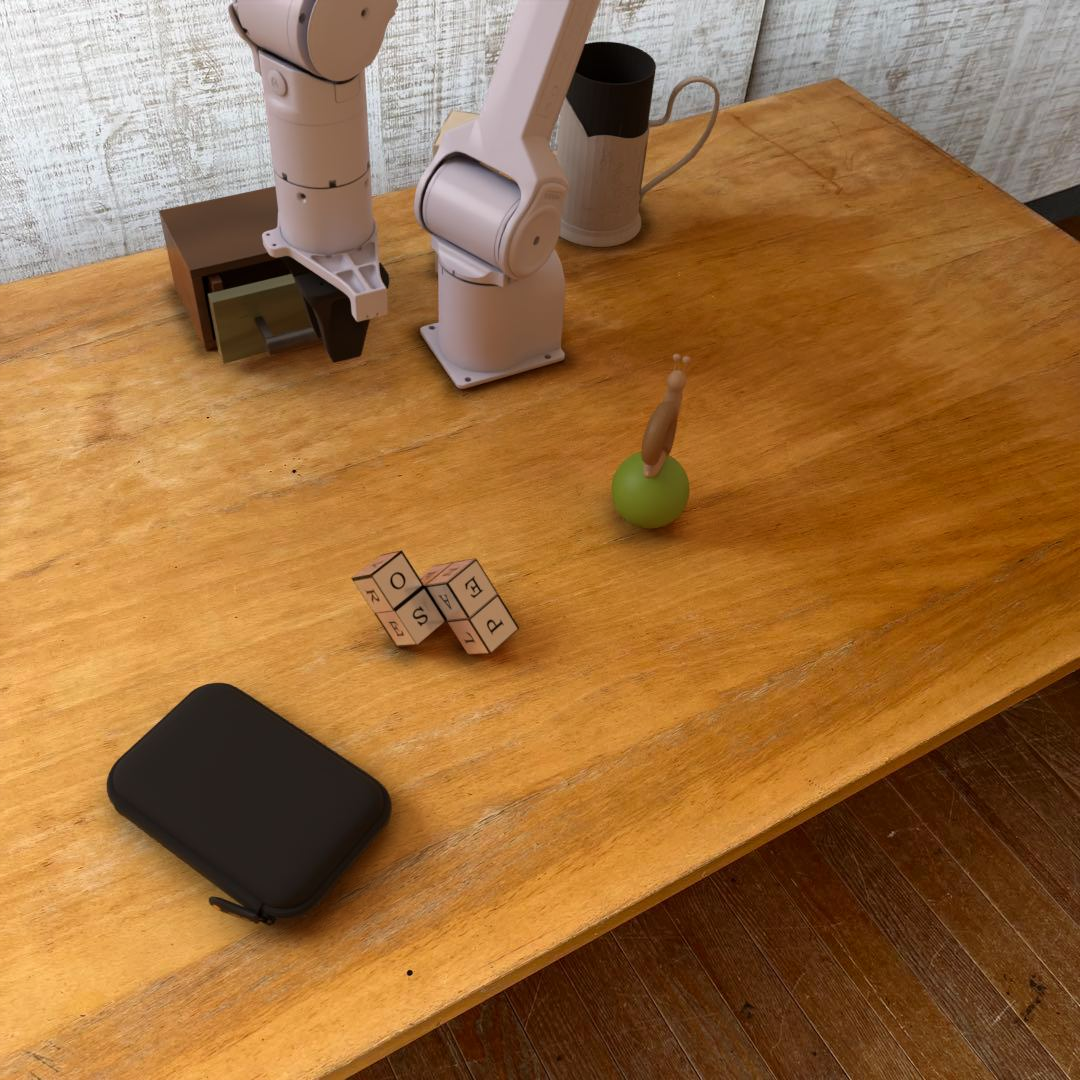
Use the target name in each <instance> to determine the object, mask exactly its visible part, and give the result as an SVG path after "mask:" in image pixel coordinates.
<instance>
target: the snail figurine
mask: <svg viewBox="0 0 1080 1080" xmlns="http://www.w3.org/2000/svg"><path fill="white" fill-rule="evenodd" d="M672 360H673V362H675V363H674V367H673V371H671V372H670V373H669V374H668V376H667V379H666V390H665V392H664V396H663V400H662V401H661V402H660V403H659V404H657V405H656V407H655V409H654V410H653V412H652V413H651V415H650V416H649V419H648V422H647V425H646V427H645V430H644V434H643V437H642V442H641V451H638V452H635V453H633V454H631V455H630V456H628V457H627V458H625V459H624V460H623V461H622V462H621V463H620V464H619V465H618V467H617V468H616V470H615V472H614V473H613V477H612V480H611V487H610V493H611V499H612V502H613V505H614V508H615V510H616V511H617V512H618V513H619V515H620V516H621V517H622V518H623V519H624V520H625V521H626V522H628V523H629V524H631V525H633V526H636V527H638V528H642V529H658V528H662V527H666V526H667V525H669V524H671V523H673V522H674V521H675V520H677V519H678V518H679V517H680V516H681V515H682V513H683V512H684V510H685V509H686V507H687V504H688V502H689V498H690V490H691V488H690V487H691V486H690V480H689V476H688V474H687V471H686V470H685V467H683V465H682V464H681V463H680V462H679V461H678V460H677V459H676V458H675V457H674V456H671V455H670V454H671V452H672V450H673V445H674V442H675V437H676V432H677V426H678V419H679V415H680V411H681V407H682V402H683V401H682V400H683V393H684V389H685V387H686V384H687V375H686V369H687V365H689V364H691V360H692V359H691V357H690V356H687V355H686V356H683V358H682V356H681V355H680V353H674V354H673V355H672ZM681 360H682V363H683V364H684V368H683V369H684V370H683V371H682V370H679V369H676V368H677V364H678V363H679V362H680V361H681Z"/></svg>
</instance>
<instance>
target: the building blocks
mask: <svg viewBox="0 0 1080 1080" xmlns="http://www.w3.org/2000/svg"><path fill="white" fill-rule="evenodd" d="M351 581H352V582H353V583H354V585H355V586H356V588H357V589H358V591H359V592H360V594H361V596H362V597H363V599H364V600H365V602H366V603H367V605H368V606H369V608H370V610H371V611H372V613H373V614H374V616H375V617H376V619H377V620H378V622H379V624H380V625H381V626H382V628H383V629H384V631H385V633H386V634H387V635H388V637H389V638H390V640H391V642H392V643H393V644H394V646H395V647H396V648H402V647H405V648H406V647H416V646H418V645H419V644H421V643H422V642H423V641H425V639H426V638H428V637H429V636H431V634H433V633H434V632H435V631H436V630H437V629H438V628H440V627H441V626H442V625H444V623H446V622H447V624H448V625H449V627H450V629H451V630H452V631H453V633H454V634H455V636H456V638H457V639H458V642H460V644H461V646H462V648H463V649H464V650H465V652H466V653H467V655H468V656H470V655H487V654H488V655H489V654H493V652H494V651H496V650H497V649H498V648H499V647H500V646H501V645H503V643H505V642H506V641H507V640H508V639H509V638H510V637H511V636H512V635H514V634H515V633H516V632H517V631H518V630H520V626H519V625H518V623H517V622H516V620H515V618H514V616H513V615H512V614H511V612H510V611H509V609H508V607H507V605H506V604H505V602H504V601H503V599H502V598H501V595H500V594H499V592H498V591H497V590H496V588H495V586H494V584H493V583H492V581H491V580H490V578H489V576H488V575H487V573H486V572H485V570H484V568H483V567H482V565H481V563H480V562H479V560H478V559H477V557H475V558H469V559H463V560H457V561H452V562H446V563H441V564H435V565H432V566H431V567H428V569H427V570H426V571H424V572H423V573H422V574H421V575H418V573H417V572H416V570H415V569H414V567H413V564H412V563H411V562H410V561H409V559H408V557H407V556H406V554H405V553H404V551H403V550H396V551H392V552H387V553H383V554H381V555H379V556H377V558H375V559H374V560H373V561H371V562H370V563H369V564H367V565H366V566H365V567H364V568H362V569H361V570H360V571H358V572H357V573H356V574H354V575H353V576H352V577H351Z"/></svg>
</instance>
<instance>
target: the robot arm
mask: <svg viewBox="0 0 1080 1080" xmlns="http://www.w3.org/2000/svg"><path fill="white" fill-rule="evenodd" d="M601 1H602V0H517V2H516V6H515V8H514V12H513V15H512V17H511V20H510V24H509V26H508V29H507V32H506V35H505V37H504V41H503V43H502V47H501V50H500V53H499V55H498V58H497V61H496V64H495V67H494V70H493V74H492V76H491V79H490V82H489V85H488V88H487V91H486V95H485V96H484V100H483V102H482V105H481V108H480V112H479V116H478V117H477V118H476V119H474V120H472V121H469V122H467V123H465V124H462V125H460V126H457V127H455V128H452V129H450V130H448V131H446V132H445V133H444V134H443V137H442V140H441V143H440V146H439V149H438V151H437V153H436V155H435V157H434V159H433V158H432V160H431V162H430V163H429V164H428V166H427V167H426V169H424V171H423V173H422V174H421V177H420V178H419V180H418V183H417V186H416V189H415V194H414V202H413V209H414V210H413V211H414V213H413V214H414V218H415V221H416V223H417V224H418V226H419V227H420V228H421V229H422V230H423V231H424V232H427V233H429V234H430V248H431V249H433V250H434V252H435V251H436V252H437V254H438V273H437V275H438V276H437V277H438V278H437V281H438V282H437V283H438V284H437V285H438V286H437V287H438V288H437V289H438V291H437V292H438V295H437V296H438V322H434V323H431V324H427V325H422V326H421V327H420V328H419V334H420V335H421V337H422V339H423V340H424V342H425V343H426V344H427V346H428V347H429V349H430V350H431V352H432V353H433V354H434V356H435V357H436V359H437V360H438V362H439V363H440V365H441V366H442V368H443V369H444V371H445V372H446V373H447V375H448V376H449V378H450V380H451V381H452V382H453V384H454V385H455V386H456V388H458V389H459V390H465V389H468V388H472V387H475V386H479V385H481V384H486V383H490V382H492V381H496V380H500V379H504V378H507V377H511V376H514V375H517V374H521V373H523V372H528V371H531V370H534V369H538V368H542V367H544V366H548V365H552V364H555V363H558V362H561V361H563V360H565V357H566V353H565V352H564V350H563V349H562V335H563V325H564V323H563V322H564V316H565V315H564V313H565V302H566V278H565V272H564V268H563V264H562V262H561V258H560V256H559V254H558V252H557V250H556V249H555V248H556V246H557V244H558V241H559V237H560V236H559V234H560V227H561V214H562V209H563V205H564V201H565V198H566V194H567V192H568V189H569V183H568V181H567V178H566V176H565V174H564V172H563V171H562V169H561V167H560V165H559V163H558V161H557V160H556V155H555V154H554V152H553V149H552V148H551V145H550V141H551V137H552V135H553V132H554V129H555V127H556V124H557V121H558V120H559V119H558V118H559V117H560V110H561V108H562V105H563V102H564V100H565V97H566V94H567V91H568V89H569V86H570V83H571V80H572V78H573V75H574V72H575V70H576V67H577V64H578V61H579V59H580V56H581V53H582V50H583V48H584V45H585V44H586V42H587V39H588V37H589V35H590V31H591V29H592V26H593V23H594V20H595V18H596V14H597V12H598V9H599V6H600V4H601ZM398 7H399V2H398V0H233V2H231V3H229V4H228V6H227V10H228V11H227V12H228V15H229V20H230V22H231V25H232V27H233V28H234V30H235V32H236V33H237V35H238V36H239V38H240V39H241V40H243V42H245V43H246V44H247V45H248V47H249V48H250V51H251V53H252V58H253V59H252V60H253V65H254V72H256V73H257V74H259V76H260V77H261V83H262V91H263V98H264V99H263V100H264V107H265V115H266V122H267V123H266V125H267V130H268V139H269V147H270V155H271V156H270V157H271V164H272V171H273V172H272V173H273V179H274V186H275V187H276V195H277V203H278V226H277V228H276V229H273V230H269V231H266V232H264V233H263V234H262V239H263V245H264V247H265V248H266V250H267V252H268V253H269V255H270V256H272V257H275V258H277V257H280V258H281V260H282V261H283V262H284V263H285V264H286V266H287V267H288V268H289V270H290V272H291V274H292V276H293V278H294V280H295V283H296V285H297V287H298V290H299V292H300V295H301V298H302V301H303V304H304V307H305V310H306V313H307V315H308V318H309V321H310V323H311V326H312V328H313V330H314V332H315V334H316V335H317V337H318V338H321V337H322V339H323V343H322V344H323V346H324V348H325V351H326V353H327V355H328V357H329V359H330V360H331V362H332V363H333V364H336V363H340V362H345V361H348V360H351V359H356V358H359V357H361V356H362V353H363V350H364V346H365V342H366V337H367V333H368V329H369V325H370V322H371V319H376V318H379V317H382V316H387V315H388V314H389V313H388V292H387V291H388V289H389V287H390V274H389V273H388V271H387V269H386V268H385V266H384V265H383V263H381V262H380V256H379V255H380V254H379V238H378V225H377V221H376V219H375V217H374V207H373V190H372V170H371V169H372V168H371V156H370V155H371V153H370V137H369V120H368V119H369V118H368V117H369V116H368V101H367V83H366V81H367V80H366V68H368V67H369V66H371V65H372V64H373V63H374V61H375V59H376V57H377V56H378V54H379V52H380V50H381V47H382V44H383V42H384V39H385V34H386V31H387V27H388V25H389V23H390V22H391V20H392V19H393V17H394V16H395V15H396V9H398ZM481 162H483V163H485V164H487V165H489V166H491V167H493V168H495V169H496V170H498V171H499V173H498V172H496V171H494V170H492V169H490V168H488V167H486V166H484V165H482V164H480V163H481ZM500 172H501V173H500ZM502 173H503V174H504V175H503V174H502ZM506 175H507V176H506Z"/></svg>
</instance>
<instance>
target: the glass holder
mask: <svg viewBox="0 0 1080 1080" xmlns="http://www.w3.org/2000/svg"><path fill="white" fill-rule="evenodd" d="M654 59H655V58H653V57H652V56H651V55H650V54H649V53H648V52H647V51H644V50H642V49H641V48H638V47H636V46H634V45H630V44H628V43H622V42H615V41H594V42H587V43H586V42H585V45H584V48H583V50H582V53H581V56H580V59H579V61H578V64H577V67H576V70H575V72H574V75H573V78H572V80H571V83H570V86H569V89H568V91H567V94H566V97H565V100H564V102H563V105H562V108H561V110H560V113H559V117H558V118H559V119H558V120H559V121H558V131H557V132H558V133H557V146H556V156H555V158H556V160H557V161H558V163H559V165H560V167H561V169H562V171H563V172H564V174H565V176H566V178H567V181H568V183H569V189H568V192H567V194H566V198H565V201H564V205H563V209H562V214H561V227H560V234H559V237H560V238H562V239H564V240H566V241H568V242H571V243H574V244H576V245H580V246H584V247H591V248H608V247H614V246H615V247H616V246H619V245H621V244H625V243H627V242H630V241H631V240H633V239H634V238H635V237H636V236H637V235H638V234H639V232H640V230H641V229H642V217H641V214H640V211H639V207H640V205H642V204H643V201H644V196H646V194H647V193H648V192H650V191H651V190H652V189H654V187H656V186H657V185H660V183H662V182H663V181H665V180H666V179H668V178H669V177H671V176H672V175H673V174H675V173H676V172H677V171H679V170H680V169H681V168H683V167H684V166H686V165H687V164H688V163H689V162H690V161H692V160H693V159H694V158H695V157H696V156H697V154H698V153H699V152H700V151H701V150H702V148H703V147H704V145H705V143H706V142H707V141H708V140H709V137H710V135H711V134H712V131H713V128H714V126H715V124H716V122H717V119H718V118H717V117H718V113H719V109H720V102H721V101H720V98H721V95H720V92H719V89H718V86H717V84H715V82H714V81H713V80H712V79H710V78H708V77H705V76H703V75H692V76H687V77H685V78H684V79H682V80H680V81H679V82H678V83H677V84H676V85H675V86H674V88H673V89H672V91H671V93H670V95H669V98H668V101H667V106H666V110H665V114H664V116H662V117H661V118H658V119H650V113H651V107H652V99H653V93H654V91H653V90H654V83H655V77H656V70H657V64H656V61H655V60H654ZM694 83H703V84H705V85H708V86H709V87H711V88H712V89H713V93H714V104H713V109H712V113H711V116H710V119H709V122H708V123H707V126H706V128H705V131H704V132H703V133H702V135H701V137H700V138H699V140H697V142H696V144H695V145H694V146H693V148H692V149H691V150H690V151H689V152H688V153H687V154H686V155H685V156H684V157H682V158H681V159H680V160H678V161H677V162H676V163H674V164H673V165H672V166H671V167H669V168H668V169H666V170H665V171H663V172H662V173H660V174H658V175H657V176H656V177H655V178H653V179H652V180H651V181H649V182H648V183H646V184H645V185H644V186H643V187H642V185H643V179H644V173H645V165H646V158H647V149H648V142H649V136H650V128H655V127H656V128H657V127H662V126H664V125H665V124H667V123H668V122H669V120H670V118H671V116H672V111H673V107H674V103H675V100H676V98H677V96H678V95H679V93H680V92H682V90H683V89H684V88H685V87H687V86H688V85H690V84H694Z"/></svg>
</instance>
